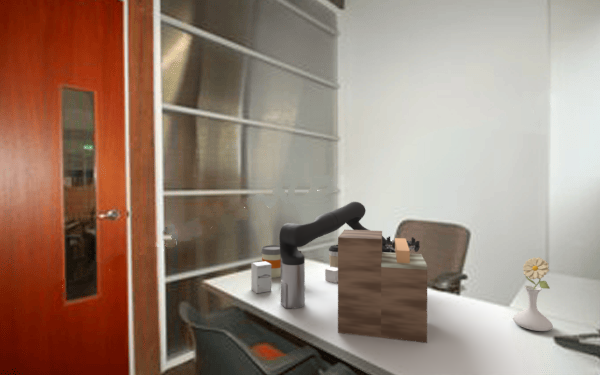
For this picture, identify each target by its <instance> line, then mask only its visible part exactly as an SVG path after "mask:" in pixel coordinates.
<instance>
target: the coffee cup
mask: <svg viewBox="0 0 600 375" xmlns="http://www.w3.org/2000/svg"><path fill="white" fill-rule="evenodd" d="M328 256H329V257H328V259H329V268H330V267H335V268H338V244H336V245H335V244H334V245H330V247H328Z"/></svg>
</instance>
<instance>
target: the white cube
mask: <svg viewBox="0 0 600 375" xmlns="http://www.w3.org/2000/svg"><path fill="white" fill-rule="evenodd" d="M324 270H325V271H324V273H325V274H324V275H325V276H324V279H325V280H326V282H329V281H330V282H329V283H333V282H335V283H334V284H336V283H338V268H335V267H330V266H329V267H328V268H325V269H324ZM325 280H324V281H325Z"/></svg>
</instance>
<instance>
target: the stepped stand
mask: <svg viewBox="0 0 600 375" xmlns="http://www.w3.org/2000/svg"><path fill="white" fill-rule="evenodd" d="M382 236H383V230H371V229H368V230H353V229H344V230H343V231H342V232H341V233H340V234H339V235H338V236H337V245H338V282H337V333H338V334H343V335H344V334H346V335H353V336H354V335H355V336H363V337H372V338H382V339H389V340H390V339H391V340H398V341H406V340H407V341H408V342H415V341H416V343H425V344H427V343H428V265H427V262H426V261H425V258H424V257H423V254H422V253H410V263H397V260H396V253H388V252H382Z"/></svg>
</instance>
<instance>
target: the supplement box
mask: <svg viewBox="0 0 600 375" xmlns="http://www.w3.org/2000/svg"><path fill="white" fill-rule="evenodd" d="M250 267H251V278H250V279H251V281H250V283H251V290H252V291H253V292H254V293H255V294H260V293H267V292H272V278H271V264H270V263H268V262H266V261H264V262H262V261H259V262H258V261H256V262H251V266H250Z"/></svg>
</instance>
